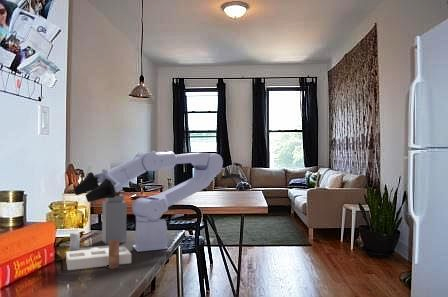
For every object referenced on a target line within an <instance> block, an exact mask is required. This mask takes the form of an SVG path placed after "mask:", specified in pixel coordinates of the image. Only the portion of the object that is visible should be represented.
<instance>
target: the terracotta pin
mask: <svg viewBox="0 0 448 297" xmlns="http://www.w3.org/2000/svg"><path fill="white" fill-rule="evenodd" d="M108 245H109V266H108V269H109V268H110V269H109V270H116V268H117V269H119V268H120V264H119V247H120V243H119V240H109V244H108Z"/></svg>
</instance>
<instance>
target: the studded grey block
mask: <svg viewBox="0 0 448 297" xmlns="http://www.w3.org/2000/svg"><path fill="white" fill-rule="evenodd" d="M80 236H81V233H80V232H71V233H70V234H69V248H68V251H79V250H89V249H100V248H109V244H107V245H98V246H88V247H86V246H85V247H80V244H81V243H80V241H81V240H80V238H81V237H80Z"/></svg>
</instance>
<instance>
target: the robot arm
mask: <svg viewBox="0 0 448 297" xmlns="http://www.w3.org/2000/svg"><path fill="white" fill-rule="evenodd" d="M179 164H180V165H182V164H191V165H192V166H193V177H191V178H189V179H187V180H185V181H183V182H181V183H179V184H177V185H174V186H172V187H171V188H169V189H167V190H164V191H163V192H160V193H158V194H153V195H150V196H147V197H138V198H136V200H134V201H133V203H132V206H131V207H132V208H131V209H132V213H133V215H134V216H135V244H132V248H133V249H134V250H135V251H136V252H138V253H139V252H148V251H158V250H168V226H167V221H166V219H163V218H162V216H163V214H164V213H166V212H168V210H169V207H171V206H173V205H175V204H177V203H179V202H180V201H183V200H185V199H186V198H188V197H190V196H193V195H194V194H196V193H199V192H200V191H202V190H205V189H206V188H207V187H209V186H210V184H211V182H213V180H214V178H216V177H217V175H218V174H220V173H222V169H223V164H224V161H223V158H222V156H221V155H220V154H218V153H208V152H188V153H181V154H179V153H178V154H175V152H173V151H171V150H169V149H163V150H162V151H156V150H151V151H150V152H141V153H139V152H138V153H137V154H135V156H134V157H133V158H132V159H129V160H127V161H125V162H122V163H121V164H119V165H116V166H115V167H113V168H110V169H109V170H107V169H106V168H102V169H101V171H102V172H99V173H98V172H95V173H94V172H92V171H91V172H89V173H88V174H87V175H86V176H85V178H84V179H83V180H82V181H81V182H80V183H79V184H77V185H76V186H75V187H73V191H74V194H75V196H80V195H82V194H85V193H86V194H85V198H86V201H87V202H88V203H91V202H94V201H95V202H96V201H99V200H102V199H106V198H114V197H115V194H114V192H119V191H120V192H121V191H123V188H124V187H123V185H124V184H127V183H128V182H130V181H132V180H134V179H136V178H137V177H139V176H141V175H142V174H145V173H146V172H151V171H152V172H155V171H157V170H159V171H160V170H167V169H174V168H175V166H176V165H179ZM99 183H100V184H99ZM161 218H162V219H161Z"/></svg>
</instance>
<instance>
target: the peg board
mask: <svg viewBox="0 0 448 297" xmlns="http://www.w3.org/2000/svg"><path fill="white" fill-rule="evenodd" d="M65 258H66V259H65V262H66V268H67V271H75V270H81V269H91V268H98V267H108V266H107V265H109V248H100V249H89V250H79V251H69V250H68V251H66V252H65ZM126 264H132V253H131V252H130V251H129V249H128V248H127V247H126V246H125V245H124V246H123V245H121V246H119V265H126Z"/></svg>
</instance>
